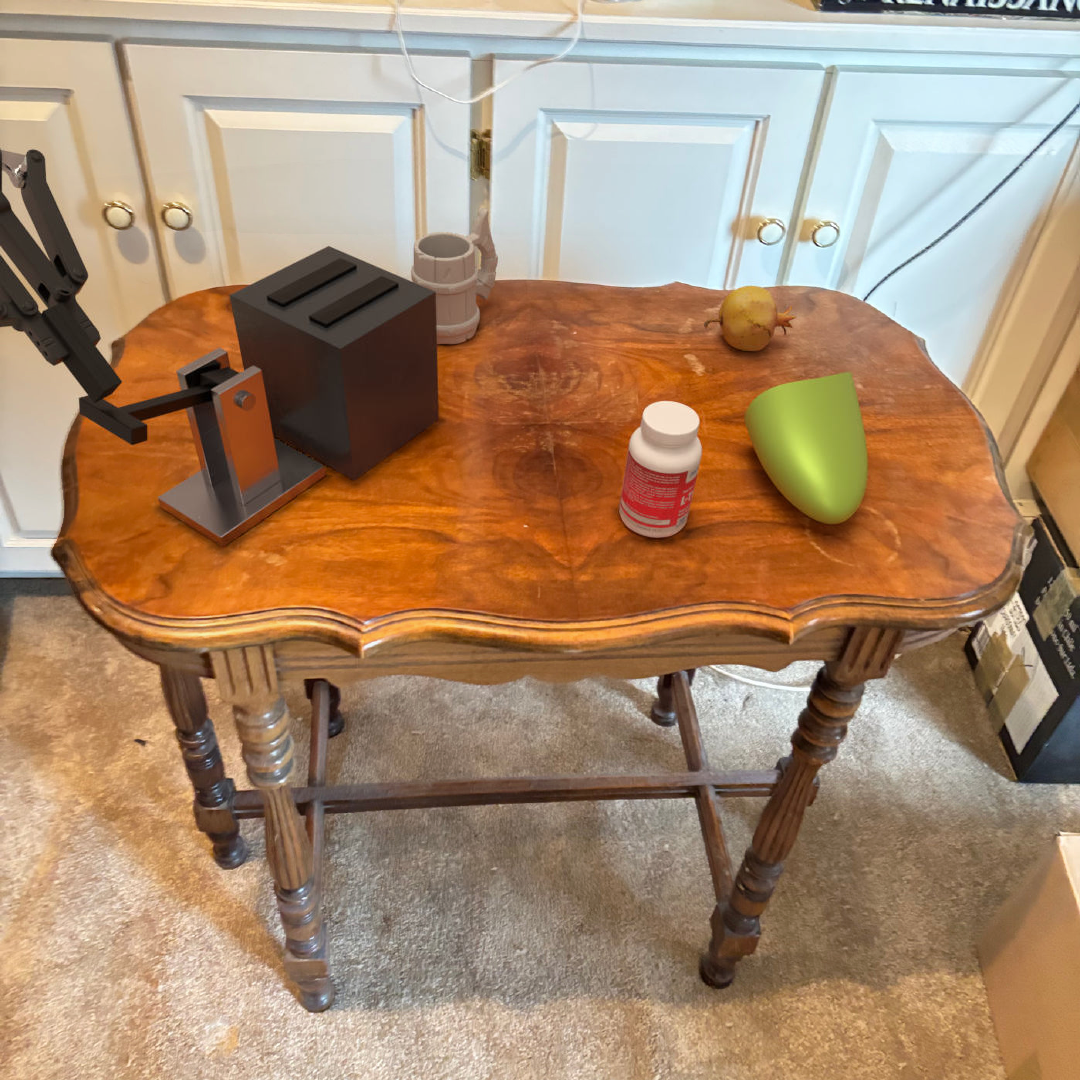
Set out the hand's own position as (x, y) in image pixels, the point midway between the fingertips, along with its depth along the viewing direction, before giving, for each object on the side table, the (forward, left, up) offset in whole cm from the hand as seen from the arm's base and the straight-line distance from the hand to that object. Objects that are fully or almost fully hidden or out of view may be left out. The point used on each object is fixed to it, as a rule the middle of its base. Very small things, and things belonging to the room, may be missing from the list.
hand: (108, 392), depth 67 cm
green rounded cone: (+59, -6, -16) cm, 61 cm away
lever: (+4, +2, -5) cm, 6 cm away
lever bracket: (+8, +5, -16) cm, 18 cm away
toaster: (+18, +13, -16) cm, 27 cm away
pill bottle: (+42, -8, -16) cm, 45 cm away
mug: (+34, +28, -16) cm, 47 cm away
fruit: (+64, +16, -16) cm, 68 cm away
